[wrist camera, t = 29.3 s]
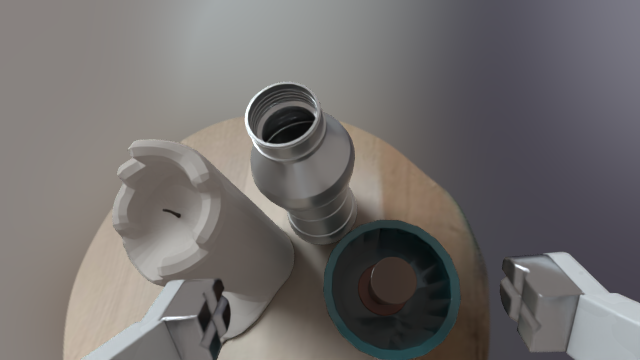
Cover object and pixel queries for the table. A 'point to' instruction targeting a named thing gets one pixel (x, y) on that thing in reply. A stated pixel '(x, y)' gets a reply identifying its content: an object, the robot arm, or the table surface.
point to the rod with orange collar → (387, 286)
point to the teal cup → (418, 312)
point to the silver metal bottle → (302, 161)
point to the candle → (199, 228)
